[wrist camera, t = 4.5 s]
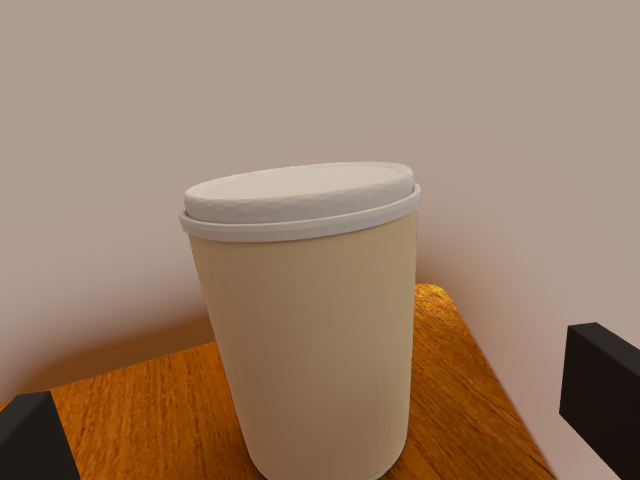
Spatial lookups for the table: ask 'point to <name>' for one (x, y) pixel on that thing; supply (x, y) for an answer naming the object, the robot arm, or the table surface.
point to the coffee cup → (312, 310)
